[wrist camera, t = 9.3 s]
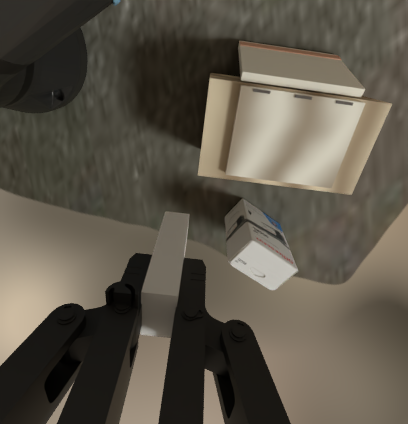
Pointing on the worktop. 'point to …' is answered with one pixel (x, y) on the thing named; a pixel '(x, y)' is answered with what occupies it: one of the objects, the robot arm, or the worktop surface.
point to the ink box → (258, 246)
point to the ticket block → (287, 135)
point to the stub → (296, 69)
